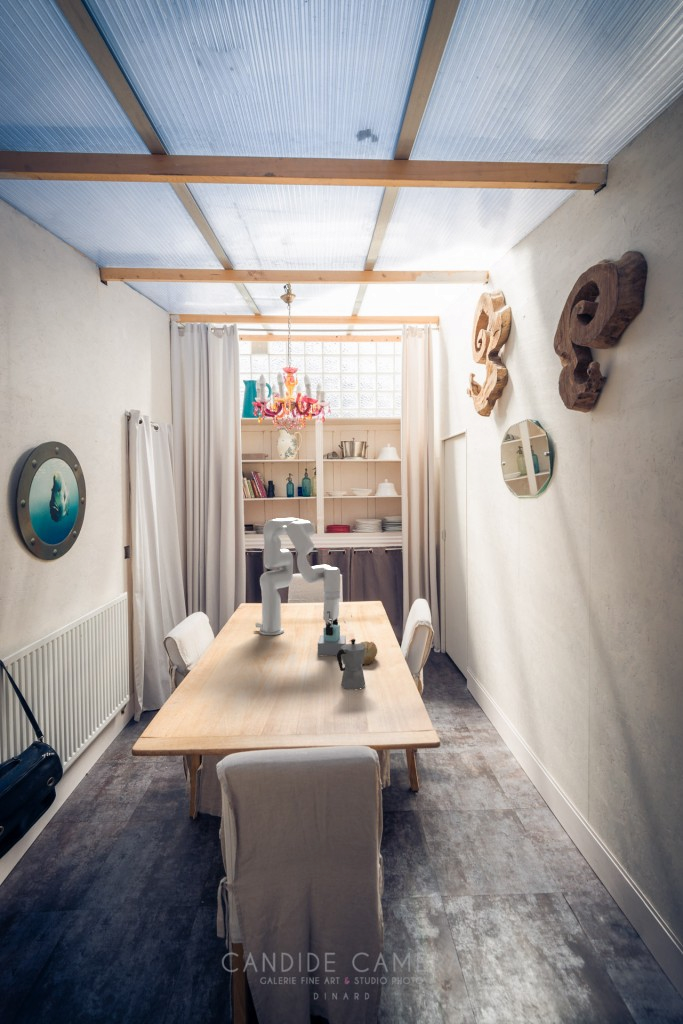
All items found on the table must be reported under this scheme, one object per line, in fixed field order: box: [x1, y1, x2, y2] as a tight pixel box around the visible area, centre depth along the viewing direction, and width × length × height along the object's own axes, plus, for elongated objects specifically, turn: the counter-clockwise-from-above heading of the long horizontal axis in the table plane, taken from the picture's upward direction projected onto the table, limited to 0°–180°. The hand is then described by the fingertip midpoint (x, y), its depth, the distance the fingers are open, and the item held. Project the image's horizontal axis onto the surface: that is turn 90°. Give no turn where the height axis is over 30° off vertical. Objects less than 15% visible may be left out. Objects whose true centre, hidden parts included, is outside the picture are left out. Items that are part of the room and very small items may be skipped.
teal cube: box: [322, 624, 341, 642], centre depth 243 cm, size 6×6×6 cm
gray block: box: [317, 634, 347, 657], centre depth 243 cm, size 12×12×6 cm
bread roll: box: [360, 640, 378, 666], centre depth 232 cm, size 10×15×8 cm, turn 175°
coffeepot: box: [336, 638, 366, 691], centre depth 202 cm, size 15×9×18 cm, turn 137°
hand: (331, 632), depth 243 cm, fingers open, 7 cm apart
